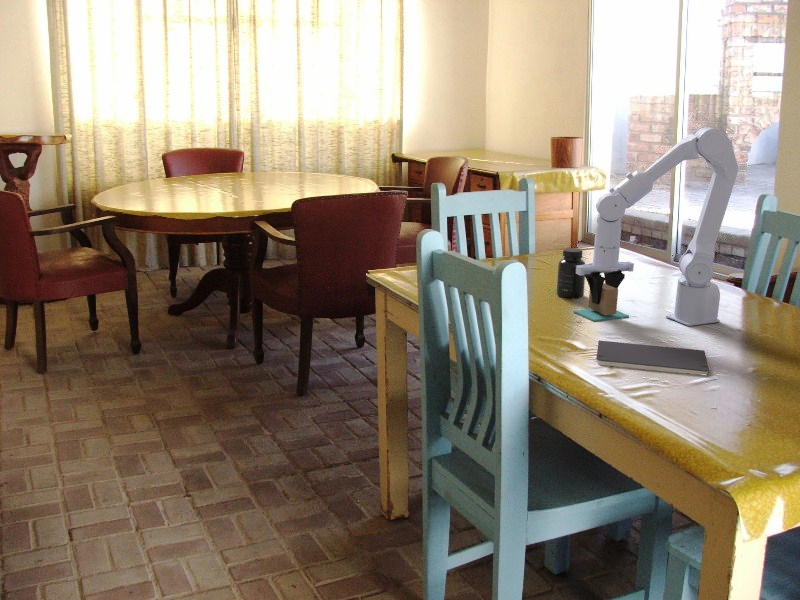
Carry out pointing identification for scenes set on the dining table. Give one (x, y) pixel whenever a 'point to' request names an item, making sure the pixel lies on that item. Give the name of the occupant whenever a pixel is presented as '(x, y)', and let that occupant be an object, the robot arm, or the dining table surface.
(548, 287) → the dining table surface
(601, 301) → the brown block
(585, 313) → the teal mat
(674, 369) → the notebook
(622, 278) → the robot arm
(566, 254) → the supplement bottle
